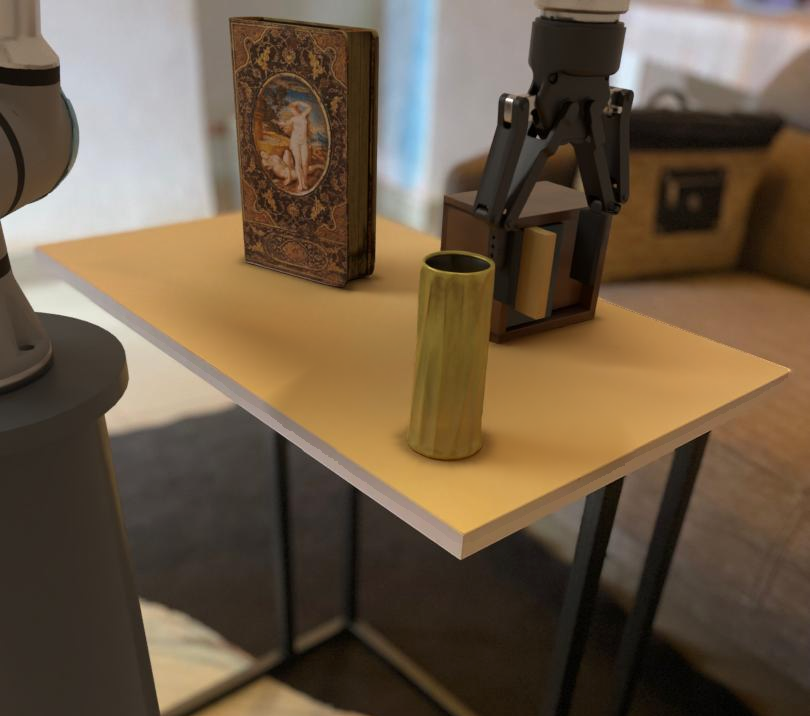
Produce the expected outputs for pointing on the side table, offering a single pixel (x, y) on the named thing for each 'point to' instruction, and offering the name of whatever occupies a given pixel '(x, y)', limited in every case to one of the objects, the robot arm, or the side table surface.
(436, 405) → the vase
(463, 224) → the small wooden bookshelf
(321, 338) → the side table surface
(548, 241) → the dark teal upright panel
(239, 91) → the book
